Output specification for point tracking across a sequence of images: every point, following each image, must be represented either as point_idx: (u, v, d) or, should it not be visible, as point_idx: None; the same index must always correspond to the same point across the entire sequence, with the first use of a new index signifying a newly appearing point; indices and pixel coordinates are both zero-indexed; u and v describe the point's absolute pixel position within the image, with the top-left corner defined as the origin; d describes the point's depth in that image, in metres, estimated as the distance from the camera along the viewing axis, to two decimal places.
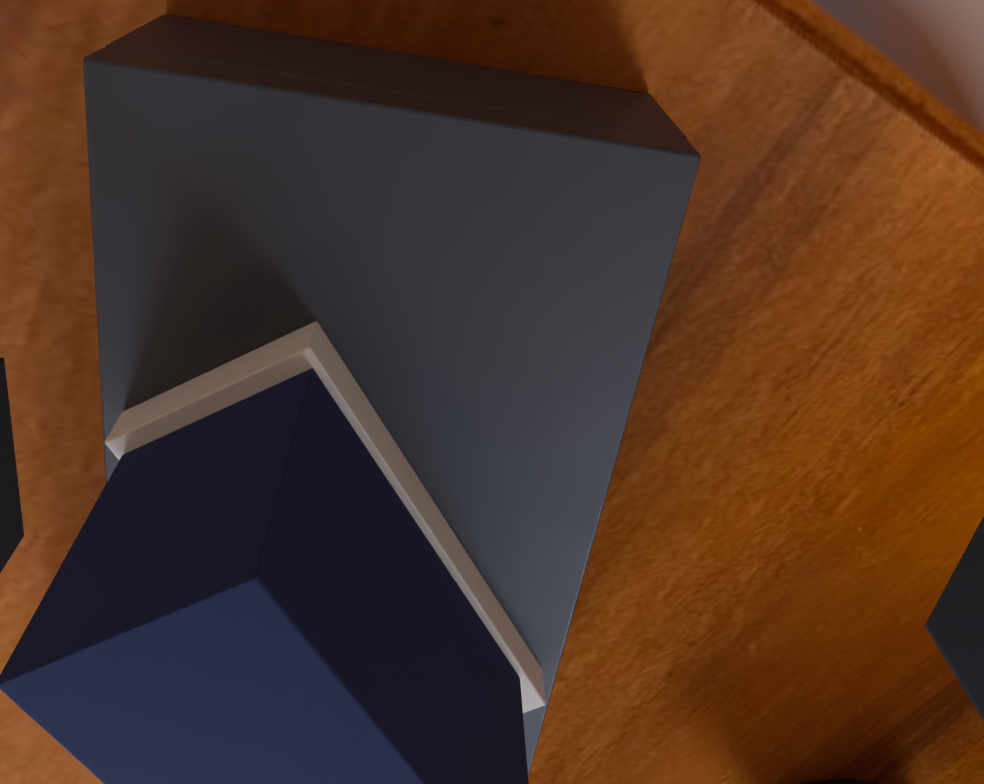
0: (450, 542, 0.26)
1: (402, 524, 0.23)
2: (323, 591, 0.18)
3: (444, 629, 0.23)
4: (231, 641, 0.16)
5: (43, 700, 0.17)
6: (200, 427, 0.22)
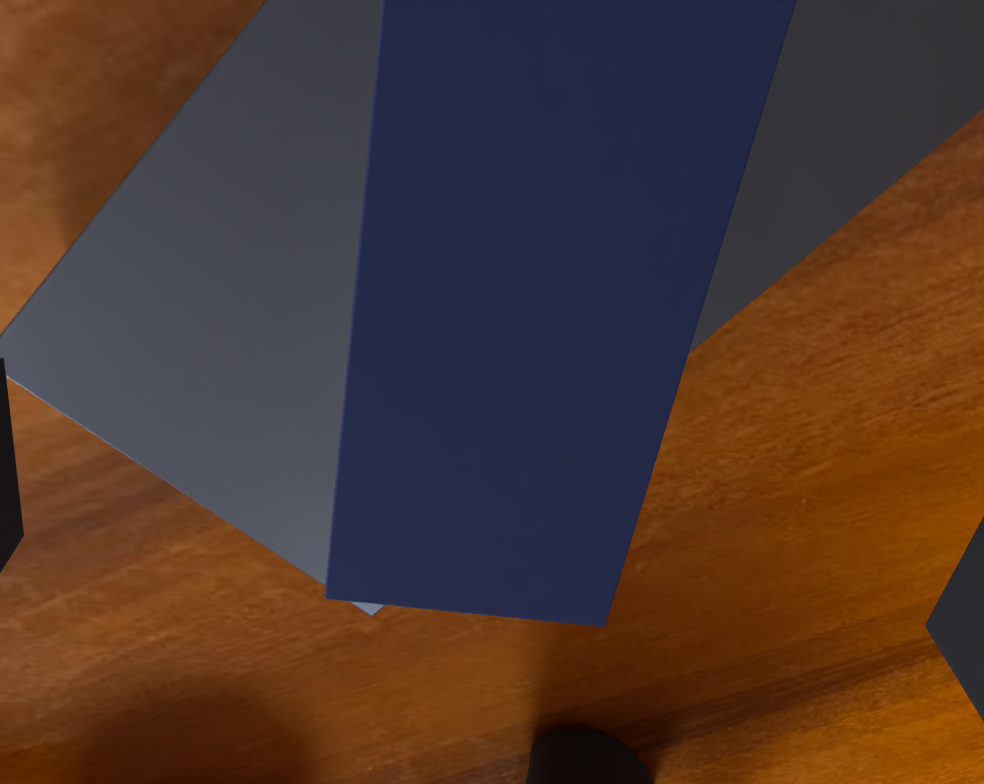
0: None
1: None
2: None
3: None
4: (695, 52, 0.13)
5: None
6: None
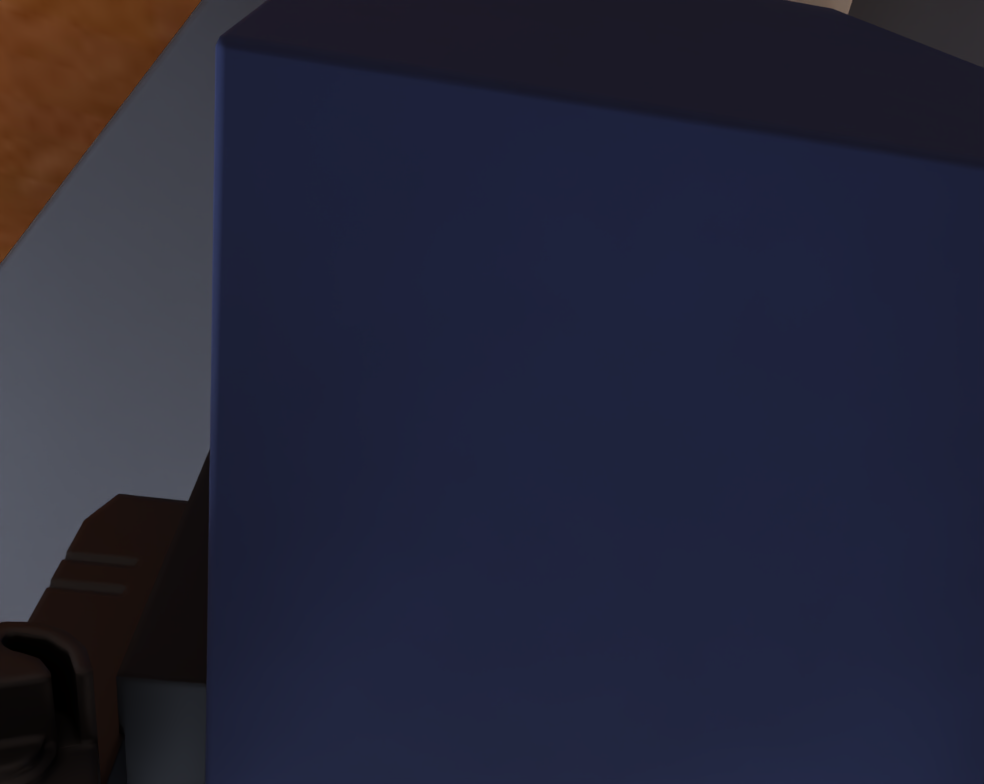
0: None
1: None
2: None
3: None
4: None
5: (328, 220, 0.04)
6: None
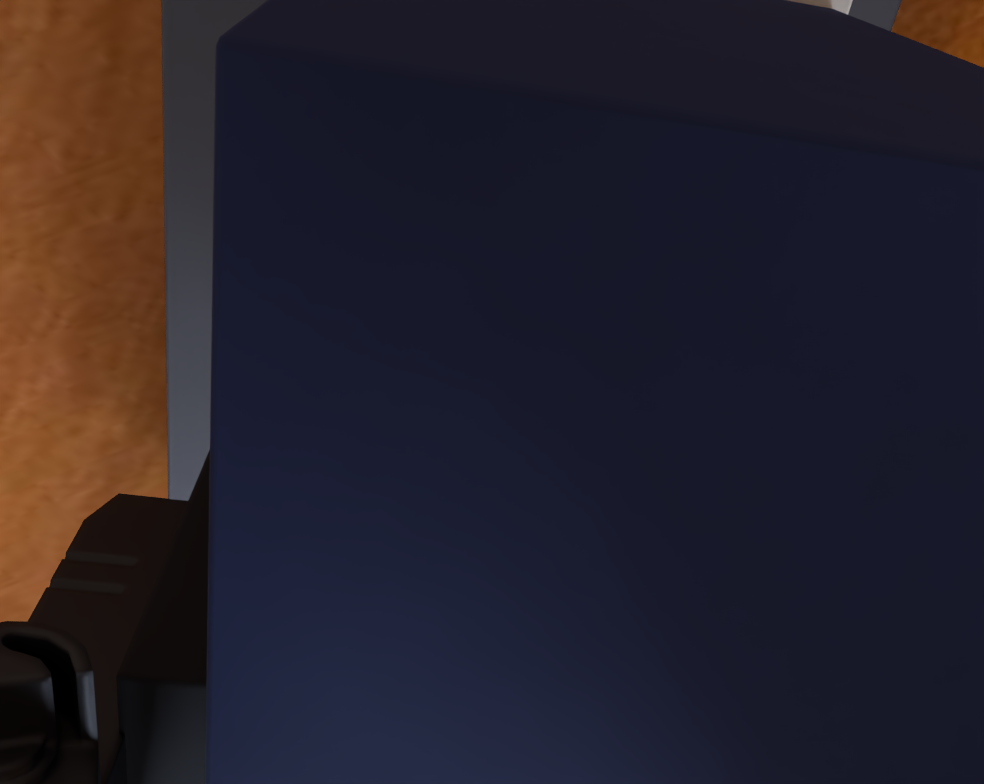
0: None
1: None
2: None
3: None
4: None
5: (329, 220, 0.04)
6: None
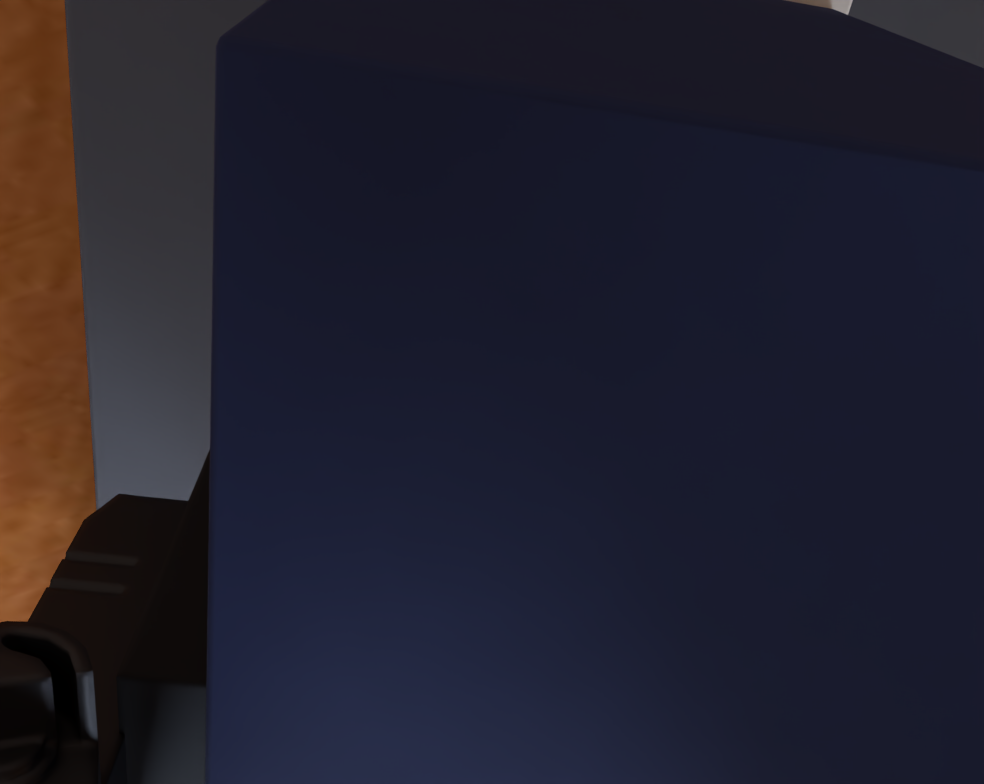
0: None
1: None
2: None
3: None
4: None
5: (328, 220, 0.04)
6: None
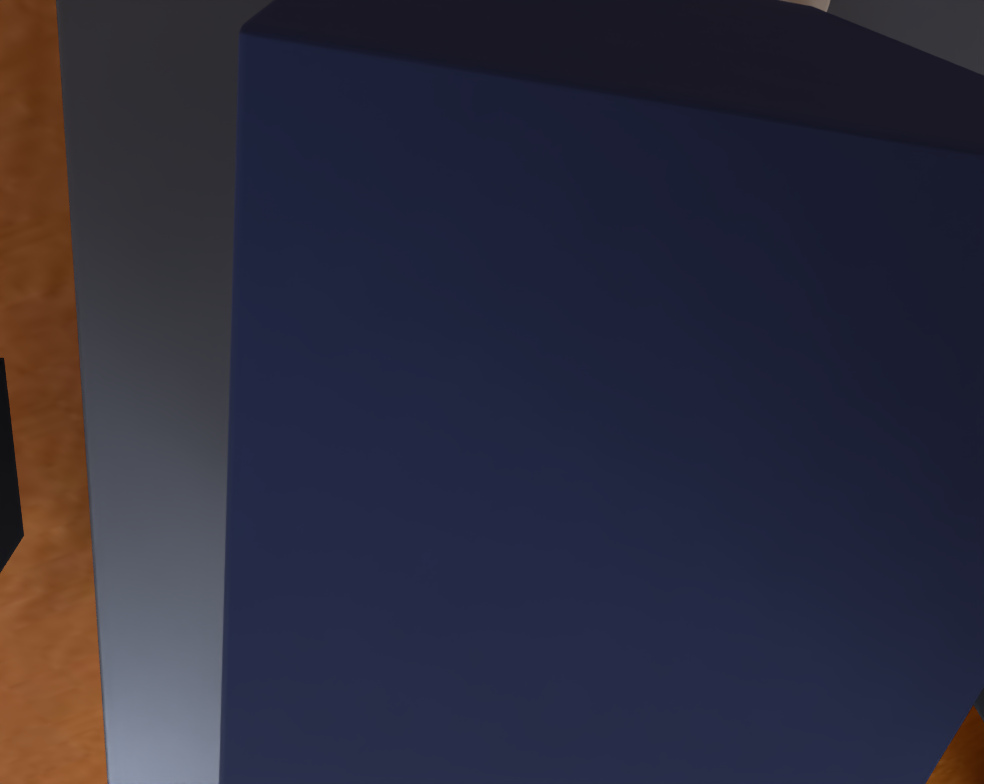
0: None
1: None
2: None
3: None
4: None
5: (335, 188, 0.05)
6: None
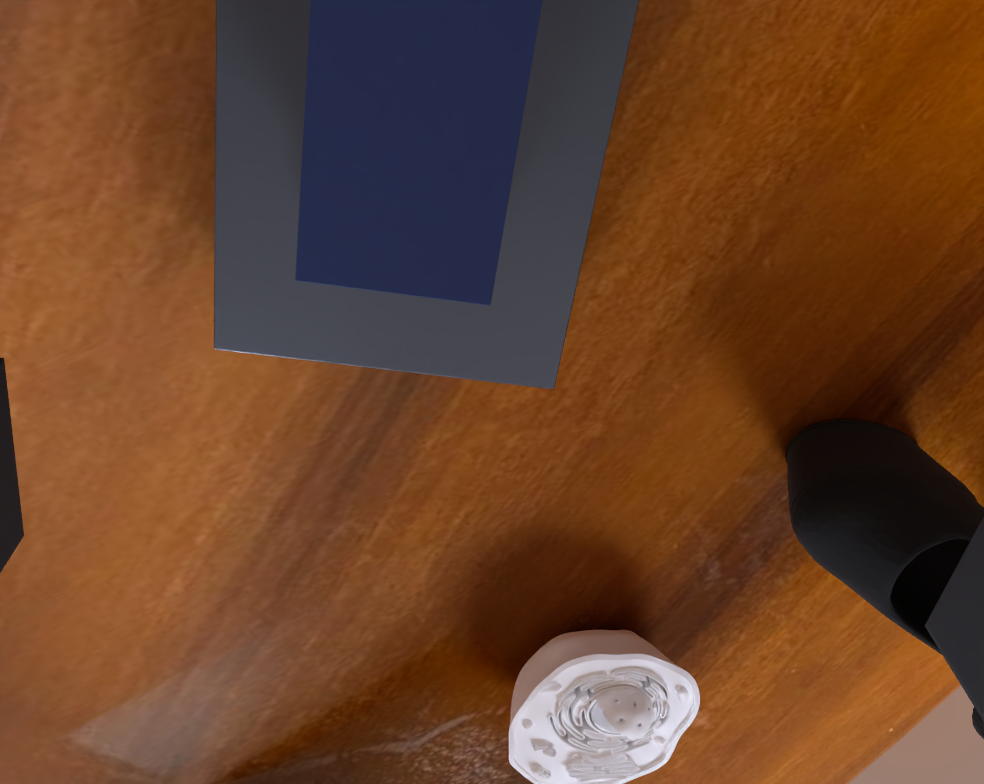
0: None
1: None
2: None
3: None
4: None
5: None
6: None
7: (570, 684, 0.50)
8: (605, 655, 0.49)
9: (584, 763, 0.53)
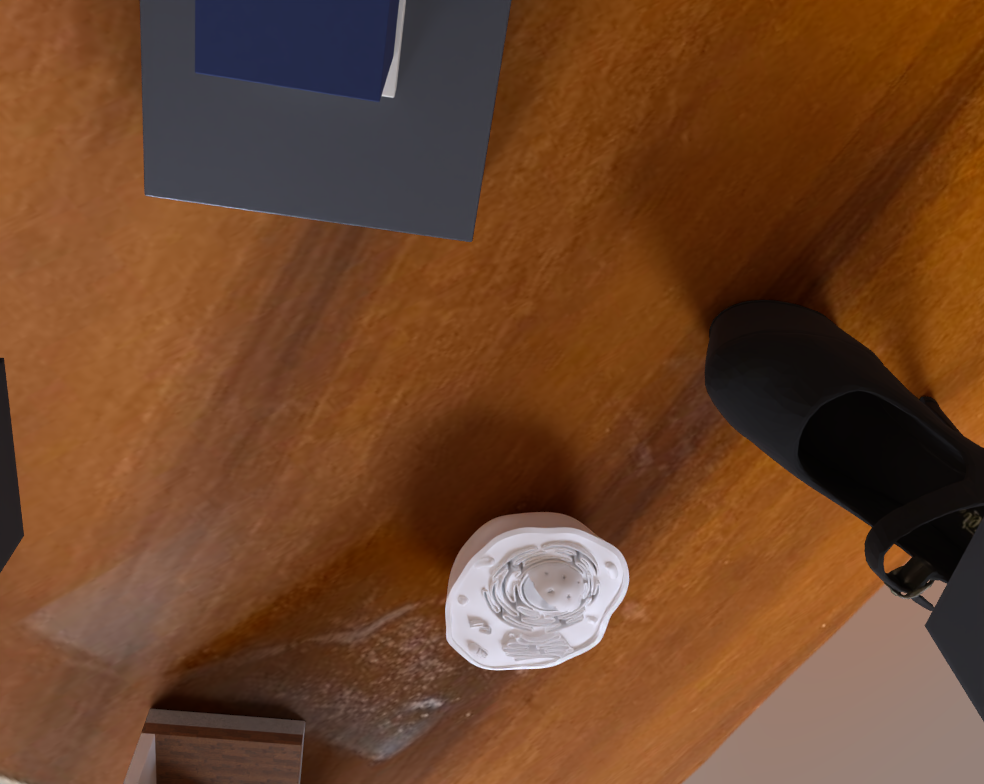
0: None
1: None
2: None
3: None
4: None
5: None
6: None
7: (502, 558, 0.51)
8: (535, 528, 0.51)
9: (519, 642, 0.55)
